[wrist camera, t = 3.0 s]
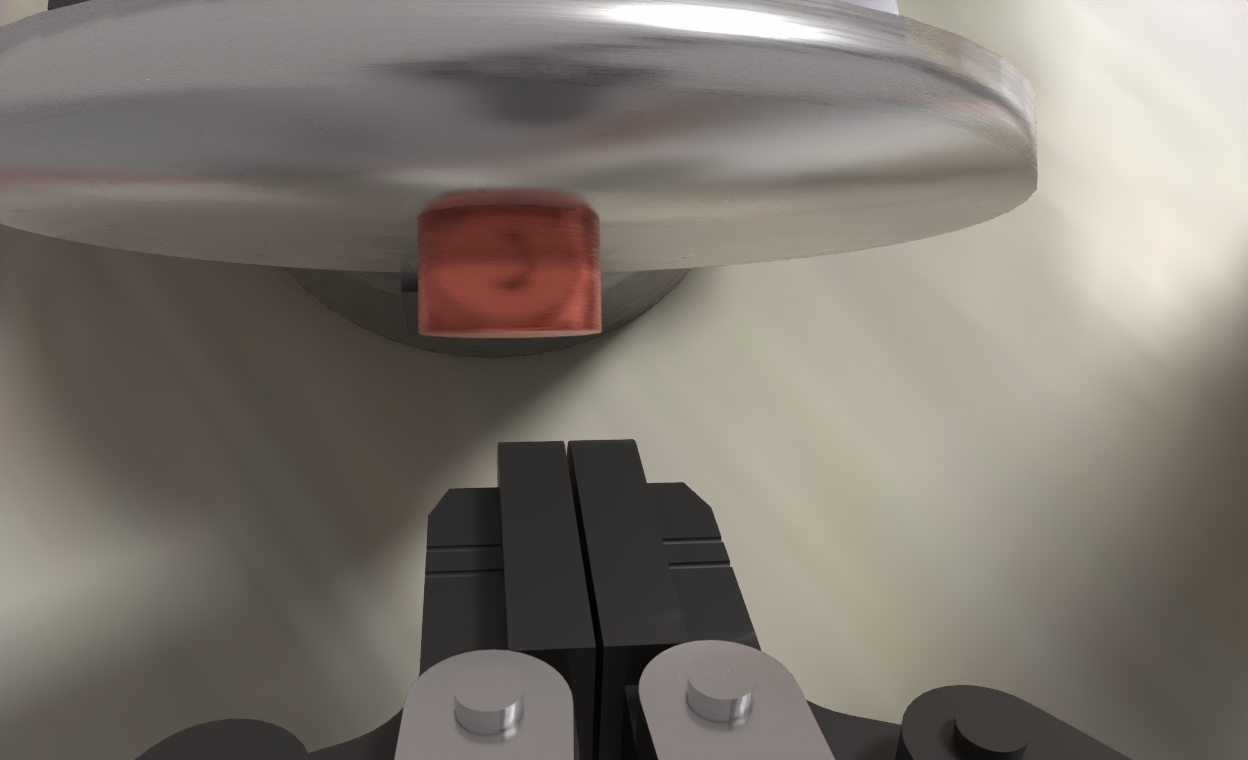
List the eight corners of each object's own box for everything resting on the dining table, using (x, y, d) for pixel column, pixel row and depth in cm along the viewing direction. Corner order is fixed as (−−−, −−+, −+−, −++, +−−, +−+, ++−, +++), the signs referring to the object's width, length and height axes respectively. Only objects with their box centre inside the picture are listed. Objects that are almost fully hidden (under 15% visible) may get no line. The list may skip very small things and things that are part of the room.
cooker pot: (161, -95, 43) (72, -339, 34) (791, -71, 46) (869, -290, 37) (114, 405, 37) (-11, 276, 27) (847, 394, 40) (959, 275, 30)
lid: (-428, -64, 11) (-429, 283, 11) (1325, -8, 13) (1333, 280, 13) (134, 225, 28) (135, 356, 28) (837, 227, 30) (839, 350, 30)
